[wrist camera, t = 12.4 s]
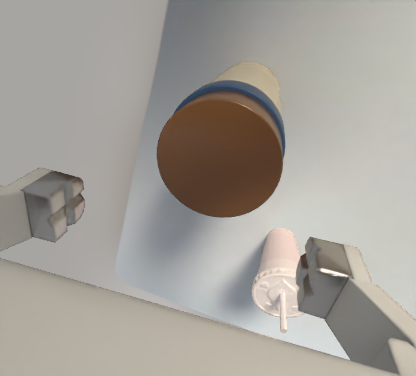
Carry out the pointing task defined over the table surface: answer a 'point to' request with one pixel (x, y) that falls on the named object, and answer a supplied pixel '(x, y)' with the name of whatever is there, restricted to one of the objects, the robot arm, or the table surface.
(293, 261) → the smoothie
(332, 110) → the table surface
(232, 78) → the bottle
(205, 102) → the brown lid
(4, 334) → the robot arm
